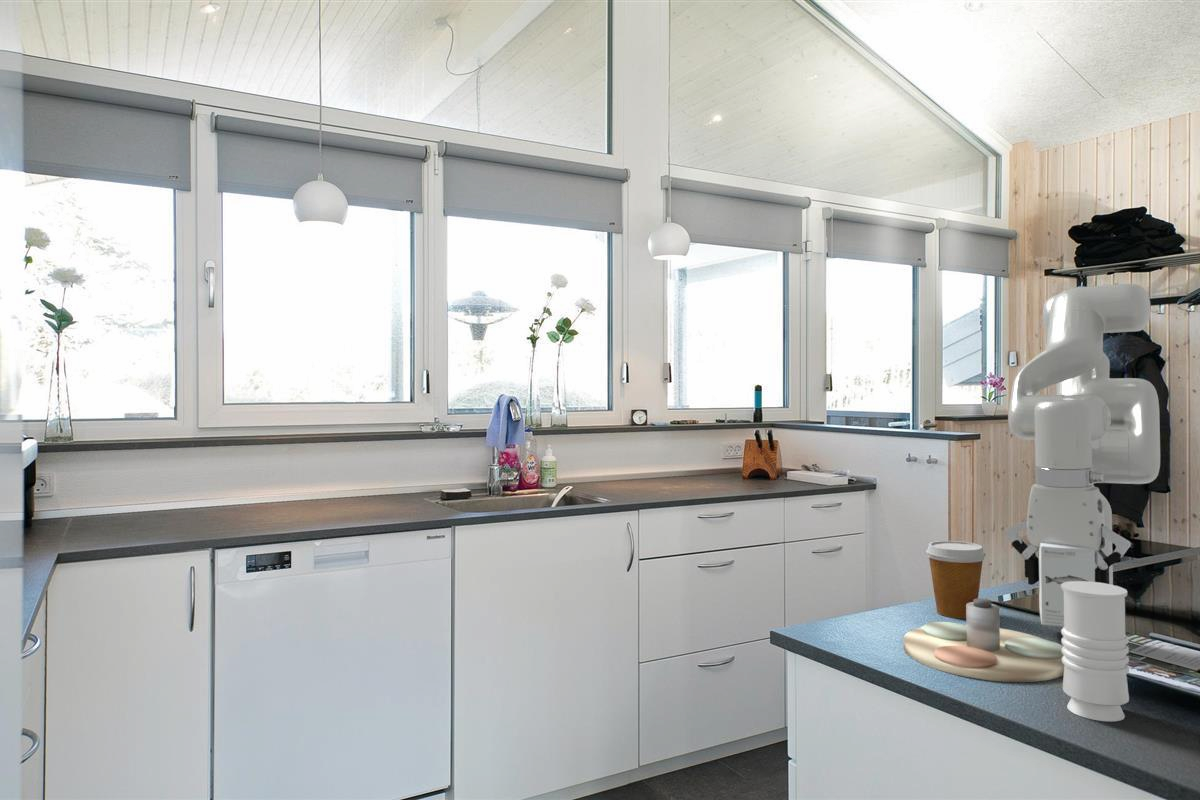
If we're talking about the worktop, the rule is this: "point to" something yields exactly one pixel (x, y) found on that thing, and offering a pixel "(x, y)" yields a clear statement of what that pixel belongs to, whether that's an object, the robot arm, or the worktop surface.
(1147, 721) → the worktop surface
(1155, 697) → the worktop surface
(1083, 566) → the supplement box
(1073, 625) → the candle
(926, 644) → the carrier
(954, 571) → the disposable coffee cup
